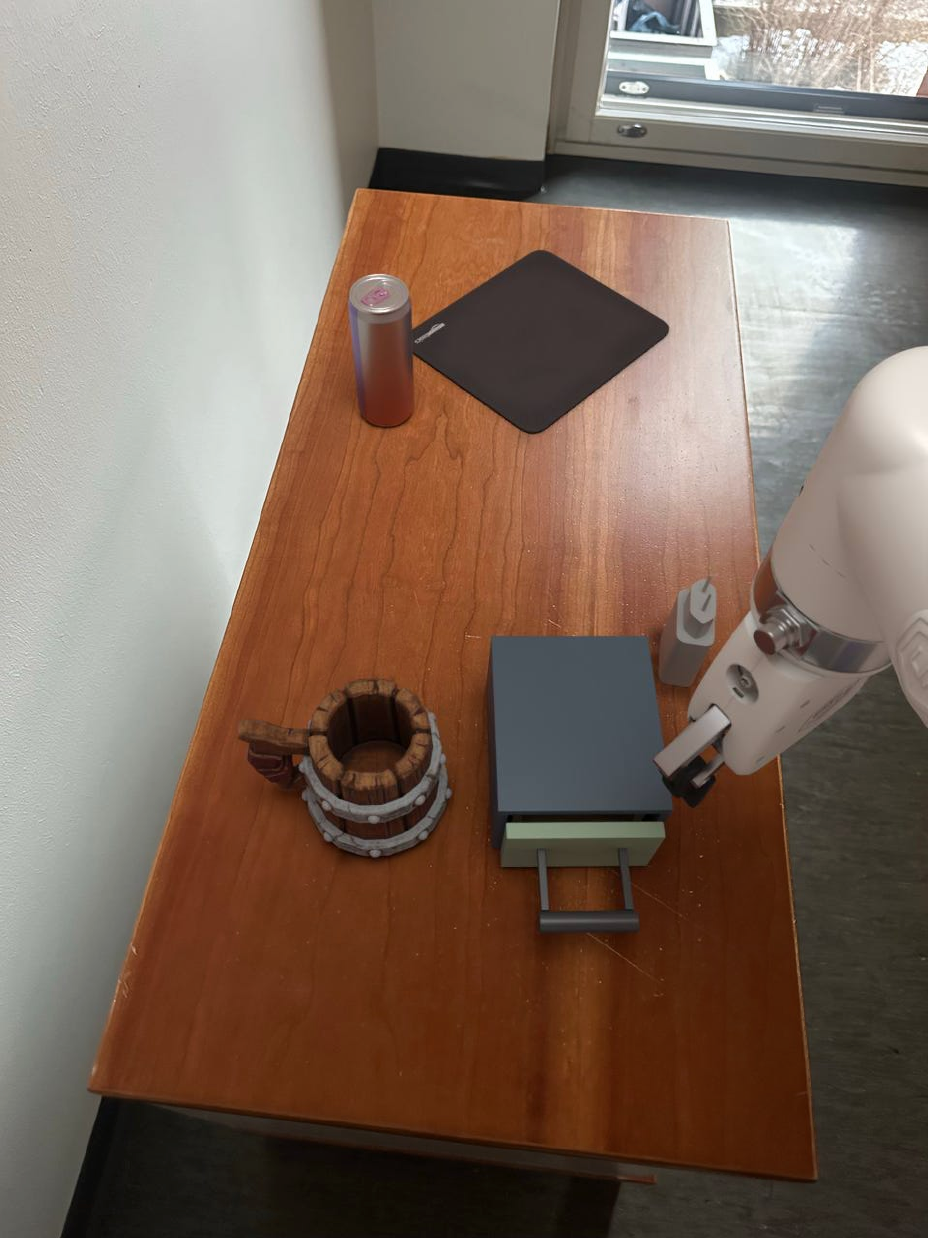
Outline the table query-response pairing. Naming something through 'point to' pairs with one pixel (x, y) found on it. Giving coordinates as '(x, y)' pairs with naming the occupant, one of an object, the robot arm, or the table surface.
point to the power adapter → (688, 634)
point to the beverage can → (382, 348)
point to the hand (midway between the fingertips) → (735, 745)
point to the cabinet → (573, 729)
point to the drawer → (582, 860)
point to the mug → (360, 766)
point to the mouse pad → (536, 339)
